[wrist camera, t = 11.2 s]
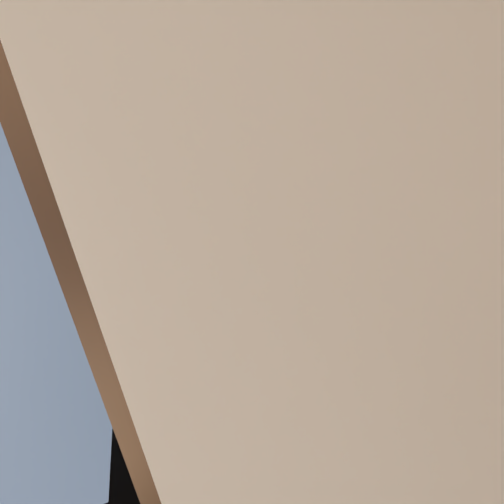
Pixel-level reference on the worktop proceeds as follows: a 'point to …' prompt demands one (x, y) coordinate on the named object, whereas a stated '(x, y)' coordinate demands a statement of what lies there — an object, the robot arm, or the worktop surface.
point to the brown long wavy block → (71, 279)
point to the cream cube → (286, 235)
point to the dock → (43, 371)
